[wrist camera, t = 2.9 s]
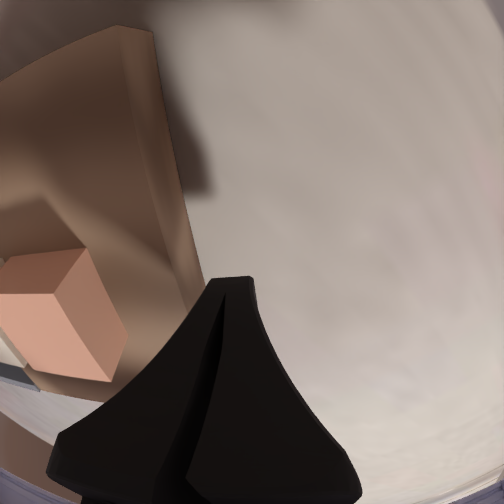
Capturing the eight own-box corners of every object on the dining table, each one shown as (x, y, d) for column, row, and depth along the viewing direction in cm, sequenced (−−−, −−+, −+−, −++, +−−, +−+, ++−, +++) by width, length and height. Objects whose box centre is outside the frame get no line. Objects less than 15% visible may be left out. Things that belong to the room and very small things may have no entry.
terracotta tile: (128, 335, 12) (111, 382, 10) (54, 331, 13) (33, 370, 11) (86, 247, 10) (53, 293, 8) (11, 256, 10) (-21, 293, 8)
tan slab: (229, 370, 18) (225, 412, 16) (54, 359, 20) (40, 389, 17) (152, 32, 8) (116, 24, 6) (-55, 136, 10) (-90, 156, 7)
